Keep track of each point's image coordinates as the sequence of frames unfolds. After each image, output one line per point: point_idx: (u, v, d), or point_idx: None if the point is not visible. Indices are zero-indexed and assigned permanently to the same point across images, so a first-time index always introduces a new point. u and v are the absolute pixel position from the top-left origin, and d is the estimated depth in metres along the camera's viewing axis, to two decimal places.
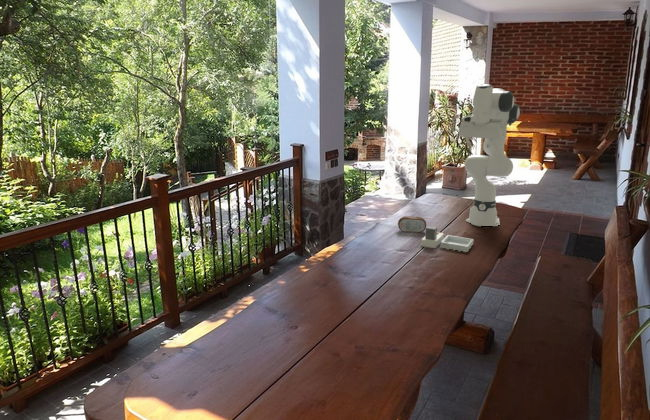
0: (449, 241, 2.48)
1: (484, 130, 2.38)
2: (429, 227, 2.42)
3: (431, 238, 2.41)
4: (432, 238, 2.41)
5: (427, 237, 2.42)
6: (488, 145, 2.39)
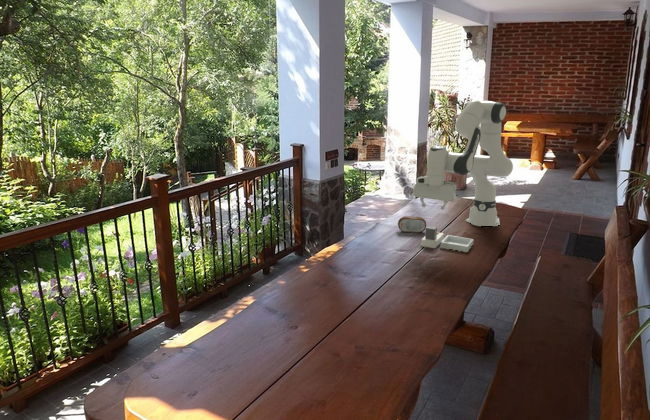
0: (449, 241, 2.48)
1: (438, 192, 2.34)
2: (429, 227, 2.42)
3: (431, 238, 2.41)
4: (432, 238, 2.41)
5: (427, 237, 2.42)
6: (442, 207, 2.36)
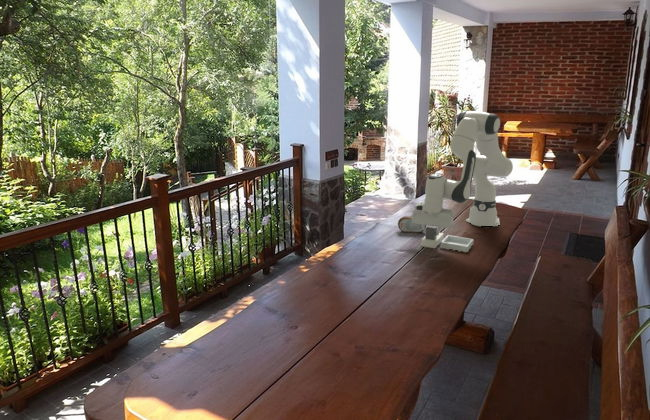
0: (449, 241, 2.48)
1: (436, 219, 2.38)
2: (429, 227, 2.42)
3: (431, 238, 2.41)
4: (432, 238, 2.41)
5: (427, 237, 2.42)
6: (436, 233, 2.40)
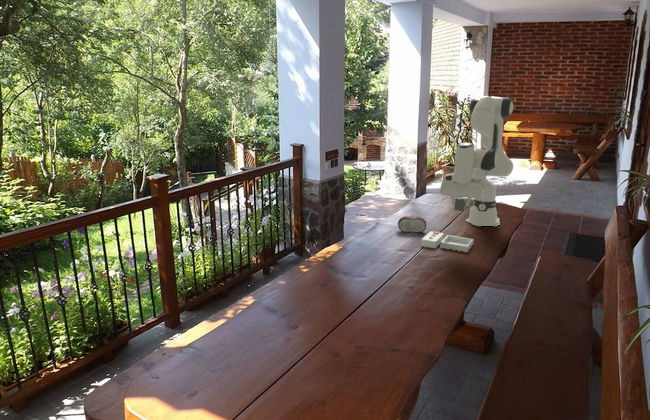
0: (449, 241, 2.48)
1: (466, 189, 2.32)
2: (458, 198, 2.36)
3: (460, 209, 2.35)
4: (461, 209, 2.35)
5: (456, 208, 2.36)
6: (466, 204, 2.35)
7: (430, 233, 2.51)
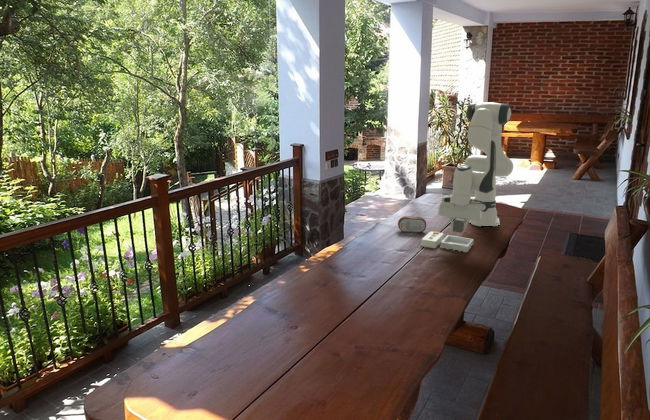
0: (449, 241, 2.48)
1: (464, 211, 2.35)
2: (456, 219, 2.39)
3: (459, 231, 2.38)
4: (460, 231, 2.37)
5: (454, 230, 2.39)
6: (464, 225, 2.37)
7: (430, 233, 2.51)
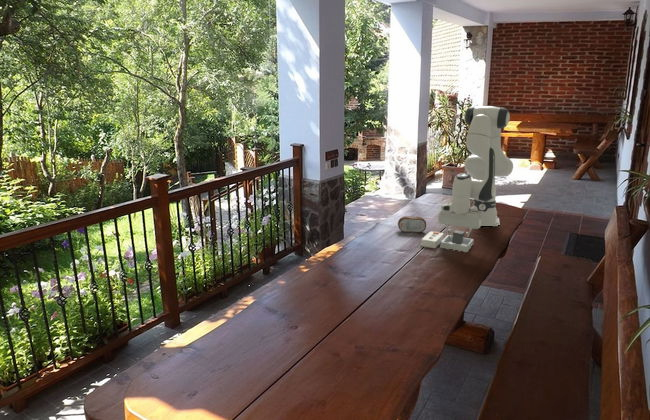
0: (449, 241, 2.48)
1: (463, 219, 2.36)
2: (456, 231, 2.40)
3: (458, 243, 2.39)
4: (459, 243, 2.39)
5: (454, 241, 2.40)
6: (467, 234, 2.38)
7: (430, 233, 2.51)
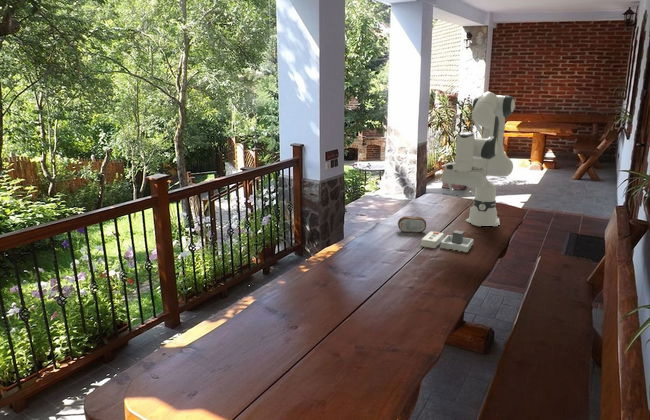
0: (449, 241, 2.48)
1: (466, 178, 2.37)
2: (456, 231, 2.41)
3: (458, 242, 2.39)
4: (459, 242, 2.39)
5: (454, 241, 2.40)
6: (471, 192, 2.39)
7: (430, 233, 2.51)
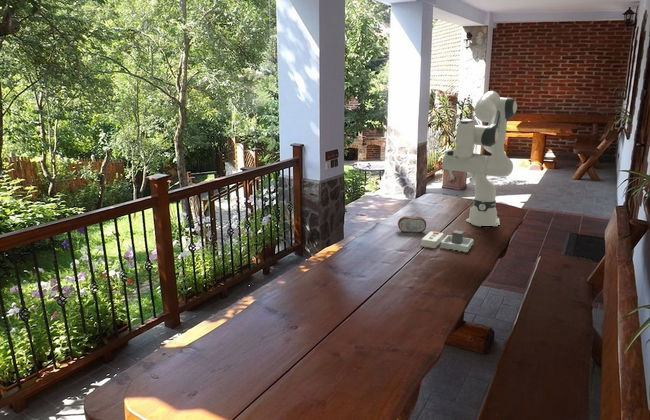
0: (449, 241, 2.48)
1: (467, 164, 2.40)
2: (456, 231, 2.41)
3: (458, 242, 2.39)
4: (459, 242, 2.39)
5: (454, 241, 2.40)
6: (471, 179, 2.42)
7: (430, 233, 2.51)
